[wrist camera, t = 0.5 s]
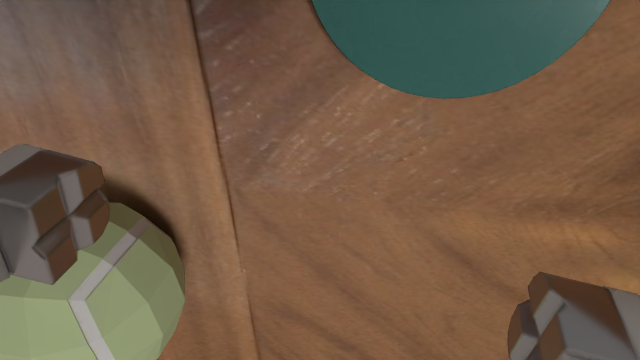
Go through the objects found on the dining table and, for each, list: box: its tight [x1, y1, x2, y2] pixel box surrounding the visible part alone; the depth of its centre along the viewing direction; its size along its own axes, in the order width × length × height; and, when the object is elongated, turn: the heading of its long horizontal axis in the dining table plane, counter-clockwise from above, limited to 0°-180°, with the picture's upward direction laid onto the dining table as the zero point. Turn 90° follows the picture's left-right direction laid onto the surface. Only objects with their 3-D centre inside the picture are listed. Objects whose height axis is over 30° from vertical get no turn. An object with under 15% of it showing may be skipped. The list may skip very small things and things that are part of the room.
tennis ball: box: [0, 202, 185, 360], centre depth 38 cm, size 15×15×15 cm
